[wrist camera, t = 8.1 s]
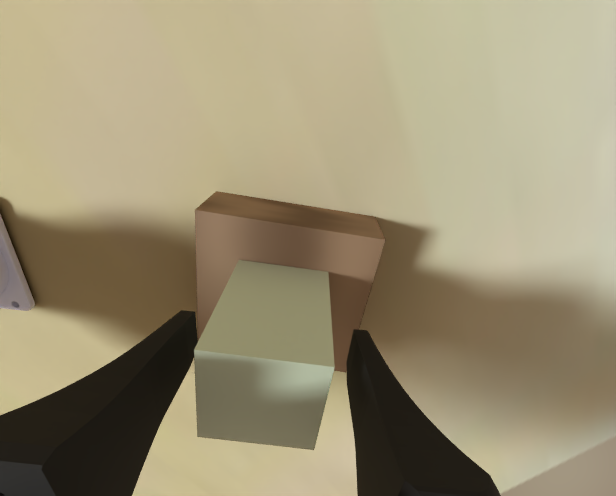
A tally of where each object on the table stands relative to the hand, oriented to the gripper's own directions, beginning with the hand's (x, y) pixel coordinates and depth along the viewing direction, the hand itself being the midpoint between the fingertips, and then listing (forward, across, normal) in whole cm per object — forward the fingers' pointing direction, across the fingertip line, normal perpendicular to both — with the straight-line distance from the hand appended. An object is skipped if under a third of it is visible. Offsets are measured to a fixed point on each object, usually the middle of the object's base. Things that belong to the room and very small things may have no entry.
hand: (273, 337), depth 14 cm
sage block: (+3, 0, 0) cm, 3 cm away
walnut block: (+6, 0, 0) cm, 6 cm away
